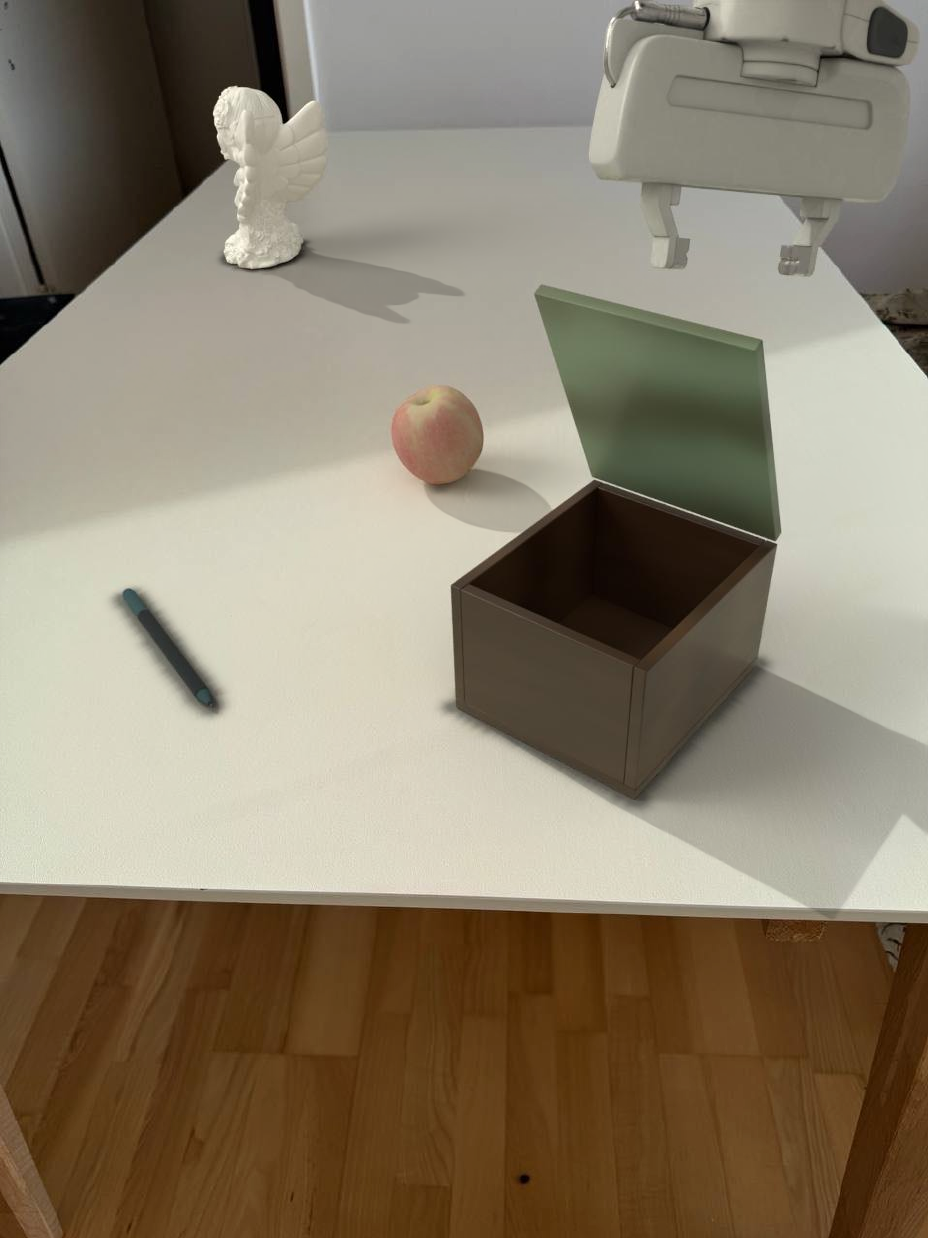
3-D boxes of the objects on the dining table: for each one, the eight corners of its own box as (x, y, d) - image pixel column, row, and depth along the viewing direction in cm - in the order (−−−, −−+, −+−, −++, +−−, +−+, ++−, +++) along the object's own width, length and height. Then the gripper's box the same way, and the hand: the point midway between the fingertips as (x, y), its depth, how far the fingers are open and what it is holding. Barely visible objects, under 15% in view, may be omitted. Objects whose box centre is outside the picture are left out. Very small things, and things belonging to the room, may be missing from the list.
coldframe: (634, 800, 64) (646, 672, 59) (455, 707, 71) (449, 584, 66) (756, 664, 74) (778, 543, 68) (588, 594, 81) (594, 478, 75)
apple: (426, 447, 100) (422, 365, 95) (500, 466, 97) (499, 382, 92) (377, 486, 94) (370, 401, 89) (454, 508, 91) (450, 421, 86)
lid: (755, 350, 54) (763, 339, 55) (533, 293, 61) (540, 283, 62) (776, 542, 68) (782, 532, 68) (591, 477, 75) (597, 468, 75)
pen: (205, 698, 71) (221, 699, 72) (122, 585, 82) (137, 587, 82) (200, 712, 71) (216, 713, 72) (118, 598, 82) (132, 599, 83)
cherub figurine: (284, 230, 150) (264, 70, 138) (343, 250, 143) (328, 83, 131) (205, 255, 143) (176, 89, 131) (263, 277, 136) (239, 103, 124)
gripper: (641, -17, 56) (611, 267, 61) (943, 35, 64) (896, 282, 68) (582, 1, 61) (559, 260, 66) (867, 47, 69) (828, 276, 74)
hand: (733, 272), depth 67 cm, fingers open, 8 cm apart
